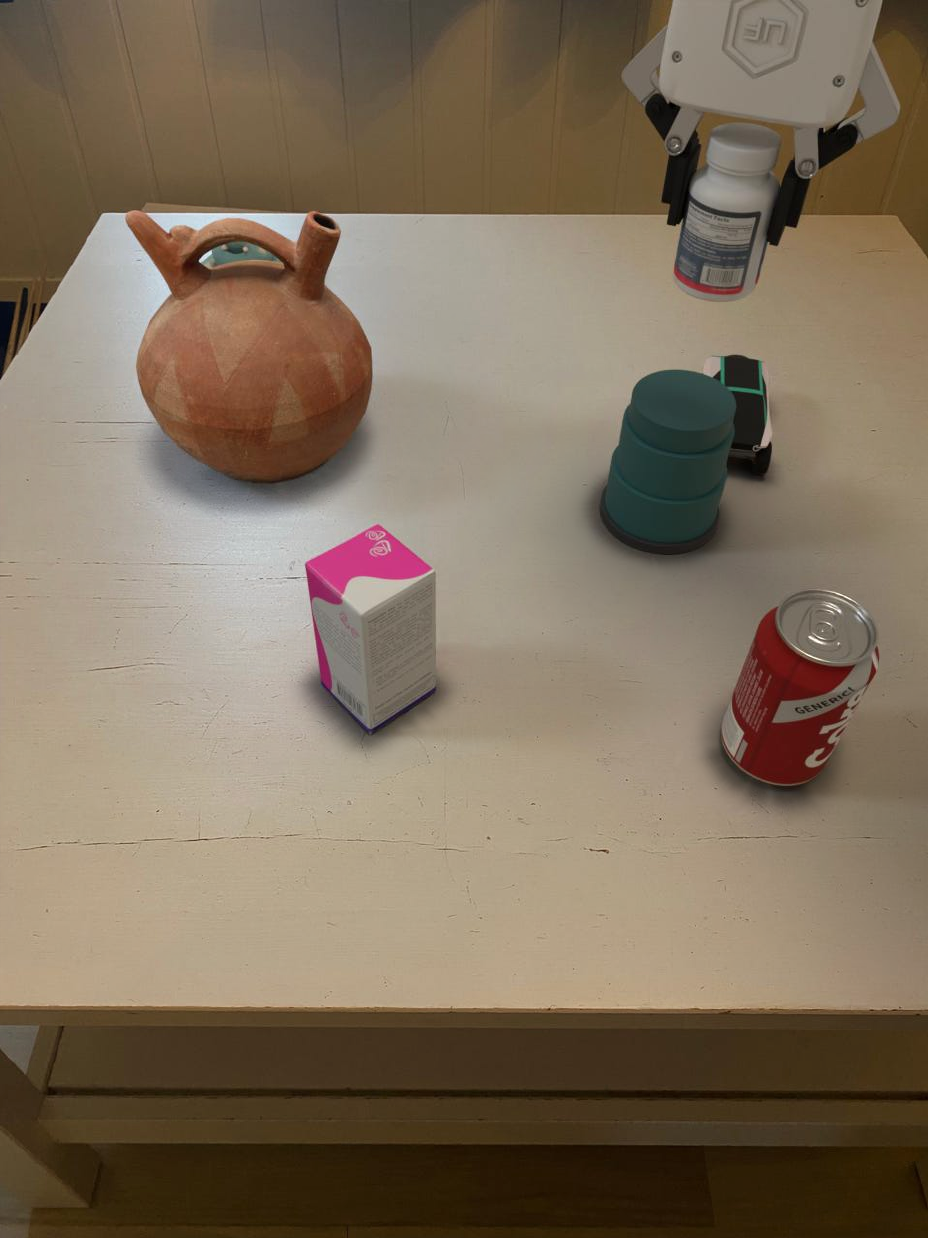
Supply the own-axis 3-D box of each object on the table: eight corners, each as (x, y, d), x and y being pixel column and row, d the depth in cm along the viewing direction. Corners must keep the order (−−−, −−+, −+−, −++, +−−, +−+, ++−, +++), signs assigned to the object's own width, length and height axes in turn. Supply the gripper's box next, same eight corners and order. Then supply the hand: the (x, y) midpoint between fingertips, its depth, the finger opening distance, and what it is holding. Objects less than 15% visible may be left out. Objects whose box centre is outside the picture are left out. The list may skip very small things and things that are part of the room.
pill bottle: (708, 253, 62) (739, 109, 55) (773, 285, 59) (813, 137, 53) (654, 279, 60) (679, 132, 53) (718, 313, 57) (754, 163, 50)
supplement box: (439, 689, 64) (439, 570, 55) (369, 737, 61) (357, 619, 52) (386, 640, 66) (378, 519, 58) (317, 683, 64) (298, 563, 55)
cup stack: (728, 493, 77) (762, 378, 69) (702, 568, 72) (736, 452, 63) (618, 464, 80) (638, 349, 72) (584, 534, 74) (601, 419, 66)
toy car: (760, 398, 86) (775, 346, 82) (764, 481, 78) (781, 429, 74) (694, 390, 87) (706, 339, 83) (693, 473, 79) (706, 421, 75)
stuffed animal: (155, 273, 89) (193, 193, 95) (176, 332, 95) (210, 253, 101) (266, 283, 88) (296, 202, 94) (280, 342, 94) (308, 262, 100)
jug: (135, 510, 75) (58, 275, 60) (186, 378, 87) (132, 155, 72) (367, 517, 75) (347, 283, 60) (386, 384, 87) (373, 161, 72)
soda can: (711, 775, 59) (759, 655, 50) (724, 693, 64) (770, 569, 55) (822, 804, 58) (890, 685, 49) (827, 718, 62) (891, 595, 53)
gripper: (610, -163, 43) (571, 225, 57) (1011, -126, 39) (865, 284, 52) (652, -190, 48) (607, 175, 61) (1014, -158, 43) (879, 226, 57)
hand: (727, 222), depth 57 cm, fingers closed on pill bottle, 5 cm apart
